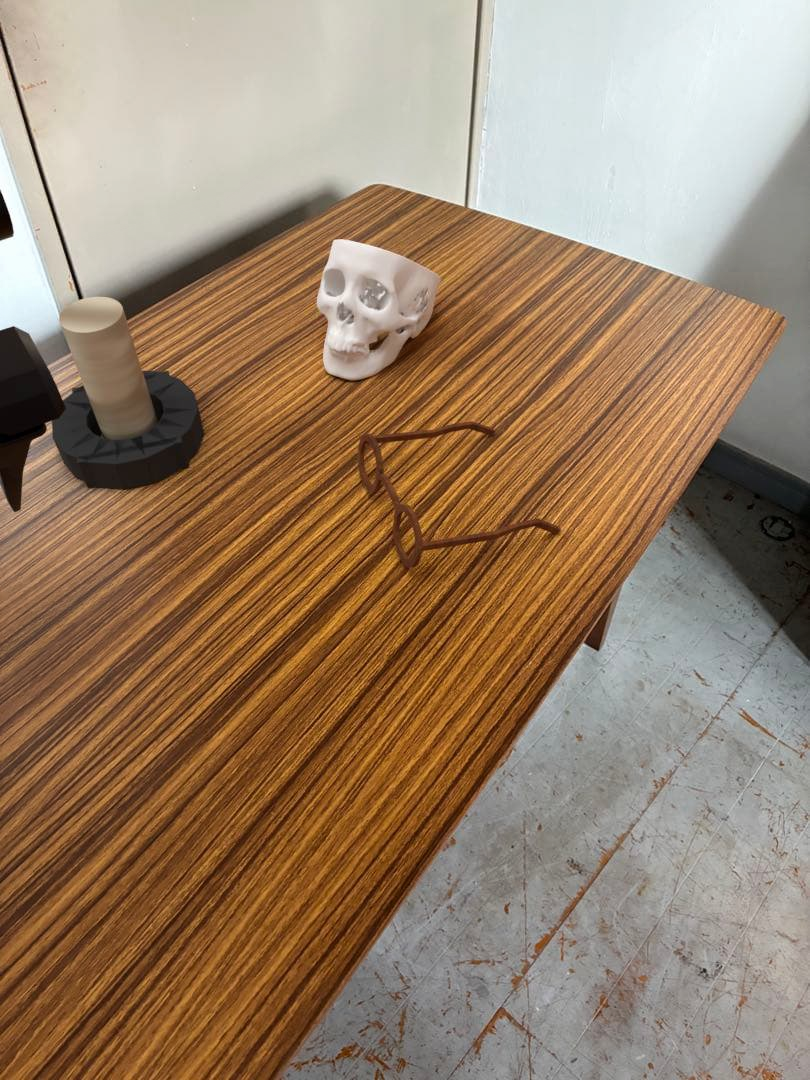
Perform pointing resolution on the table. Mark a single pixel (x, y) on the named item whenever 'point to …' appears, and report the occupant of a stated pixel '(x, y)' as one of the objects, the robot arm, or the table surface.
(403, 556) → the glasses
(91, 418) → the black thick flat ring
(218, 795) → the table surface
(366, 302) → the skull bowl
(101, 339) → the beige cylinder
